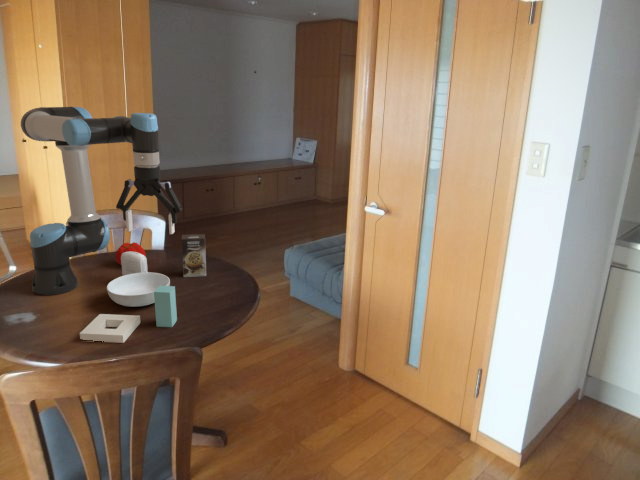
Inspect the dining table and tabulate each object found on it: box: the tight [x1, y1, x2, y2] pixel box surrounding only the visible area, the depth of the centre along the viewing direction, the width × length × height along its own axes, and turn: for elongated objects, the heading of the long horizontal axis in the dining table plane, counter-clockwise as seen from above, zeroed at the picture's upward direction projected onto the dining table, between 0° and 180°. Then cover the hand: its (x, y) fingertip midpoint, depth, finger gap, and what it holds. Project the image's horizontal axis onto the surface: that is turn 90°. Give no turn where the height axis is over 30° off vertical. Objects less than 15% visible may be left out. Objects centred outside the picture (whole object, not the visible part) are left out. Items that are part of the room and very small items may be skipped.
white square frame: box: [79, 313, 141, 344], centre depth 152 cm, size 13×13×2 cm
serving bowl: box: [106, 271, 171, 308], centre depth 174 cm, size 21×21×7 cm
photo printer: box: [120, 251, 149, 276], centre depth 188 cm, size 10×4×12 cm, turn 69°
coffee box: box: [181, 233, 207, 278], centre depth 198 cm, size 9×6×16 cm
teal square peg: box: [154, 285, 178, 328], centre depth 157 cm, size 5×5×12 cm
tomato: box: [115, 242, 147, 266], centre depth 206 cm, size 11×12×9 cm
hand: (151, 231), depth 157 cm, fingers open, 13 cm apart
